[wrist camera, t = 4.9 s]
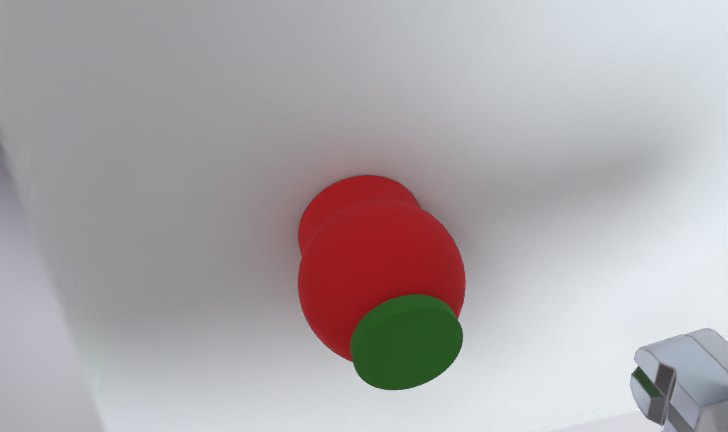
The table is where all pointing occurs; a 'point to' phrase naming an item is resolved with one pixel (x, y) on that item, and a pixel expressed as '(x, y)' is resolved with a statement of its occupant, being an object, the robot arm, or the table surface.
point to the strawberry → (381, 282)
